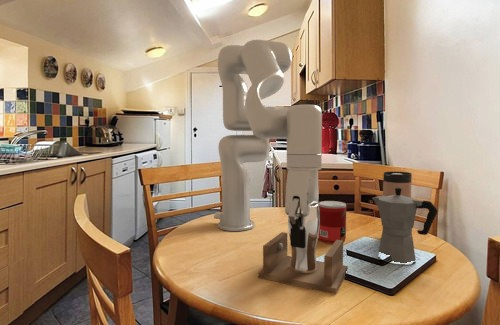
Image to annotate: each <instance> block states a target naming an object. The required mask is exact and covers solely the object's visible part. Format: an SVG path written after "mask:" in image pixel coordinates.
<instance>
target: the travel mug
mask: <svg viewBox="0 0 500 325" xmlns="http://www.w3.org/2000/svg"><path fill="white" fill-rule="evenodd" d="M412 175H413V174H412V173H411V172H409V171H383V175H382V176H383V184H382V185H383V186H382V196H390V195H396V193H395V188H401V189H402V190H401V194H400V195H402V196H406V197H410V198H412V180H413V179H412Z"/></svg>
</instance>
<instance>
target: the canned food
mask: <svg viewBox="0 0 500 325" xmlns="http://www.w3.org/2000/svg"><path fill="white" fill-rule="evenodd" d="M318 203H319V214H320V227H319V235H318V240H320V241H322V242H324V243H327V244H334V242H335V241H336V240H343V243H344V242H345V241H346V239H347V204H346V202H344V201H343V202H342V201H335V200H324V201H319V202H318Z"/></svg>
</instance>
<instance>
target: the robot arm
mask: <svg viewBox="0 0 500 325" xmlns="http://www.w3.org/2000/svg"><path fill="white" fill-rule="evenodd" d="M292 61H293V55H292V52H291V49H290V47H289V45H287V44H286V43H285V42H281V41H273V40H272V41H271V40H264V39H251V40H249V41H247V42H246V43H245V44H244V45H240V44H239V45H238V44H237V45H236V44H234V45H233V44H231V45H226V46H223V47H222V48H220V50H219V53H218V56H217V71H218V77H219V80H220V84H221V87H222V120H223V121H222V122H223V127H224V128H225V129H226V130H228V131H232V132H233V131H234V132H252V134H231V135H230V134H228V135H226V136H223V137H222V138H221V139H220V140H219V142H218V145H217V146H218V155H219V158H220V159H219V160H220V166H221V194H222V196H221V197H222V200H221V201H222V202H221V203H222V209H221V210H222V212H219V211H216V212H214V215H213V218H214V219H215V220H219V222H218V224H217V227H218V228H219V229H221V230H223V231H228V232H243V231H247V230H251V229H253V228H254V227H255V224H256V223H255V222H254V221H253V220H252V219H251V199H250V198H251V192H250V191H251V189H250V188H251V187H250V186H251V184H250V180H251V179H250V178H251V177H250V174H249V172H248V170H247V169H246V167H245V166H244V165H243V164H245V163H259V162H264V161H265V160H266V159H267V158H268V157H269V153H270V152H269V151H270V140H286V170H287V176H286V180H285V182H286V183H285V200H284V206H285V207H284V213H285V215H286V216H287V218H288V217H289V219H290V221H289V222H290V237H289V241H290V246H292V247H298V248H305V246H306V229H304V224H305V217H306V216H308V215H309V211H310V206H315V205H316V202H318V203H319V194H320V192H319V191H320V190H319V171H320V170H322V165H323V164H322V161H323V160H322V157H323V156H322V143H323V142H322V141H323V139H322V137H323V135H322V134H323V132H322V131H323V130H322V129H323V128H322V127H323V113H322V109H321V107H320V106H319V105H316V104H295V105H291V106H289V107H286V106H266V105H265V104H264V103H263V101H262V100H264V99H267V98H268V97H271V96H274V95H275V94H276V93H278V92H279V90H281V89H282V87H283V85H284V83H285V77H284V73H286V72H287V71H289V69H290V68H291V66H292ZM241 75H247V76H248V78H249V81H250V83H251V85H250V87H249V88H248V84H247V83H246V82H245V80H244V78H243V77H242V76H241ZM299 206H300V208H301V210H302V211H303V214H297V212H298V209H299ZM297 217H298V218H301V223H300V221H299V219H297Z"/></svg>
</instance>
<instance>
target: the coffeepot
mask: <svg viewBox="0 0 500 325" xmlns="http://www.w3.org/2000/svg"><path fill="white" fill-rule="evenodd" d="M401 190H402V189H401V188H395V193H396V195H390V196H383V195H379V196H375V197H372V198H371V199H372V200H373V202H374V203H375V205H376V206H377V208H378V210H379V212H380V221H381V226H382V232H381V235H380V236H381V238H380V243H379V248H378V252H381V253H384V254H386V255H390V256H391V258H392V261H394V262H400V263H407V262H411V261H415V260H417V259H416V252H415V245H414V239H413V238H414V237H413V233H412V232H413V229H414V224H415V220H416V214H417V210H418V209H427V210H428V212H427V214H426V220H425V221H424V223H423V229H422V230H421V229H417V230H416V231H417V234H419V235H423V236H427V235H428V234H429V232H430V230H431V227H432V225H433V223H434V220H435V218H436V217H437V214H438V208H437V207H436V206H435V204H434V203H433V202H432V201H430V200H422V199H421V200H420V199H417V198H412V197H411V198H410V197H406V196H402V195H400V194H401Z"/></svg>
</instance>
